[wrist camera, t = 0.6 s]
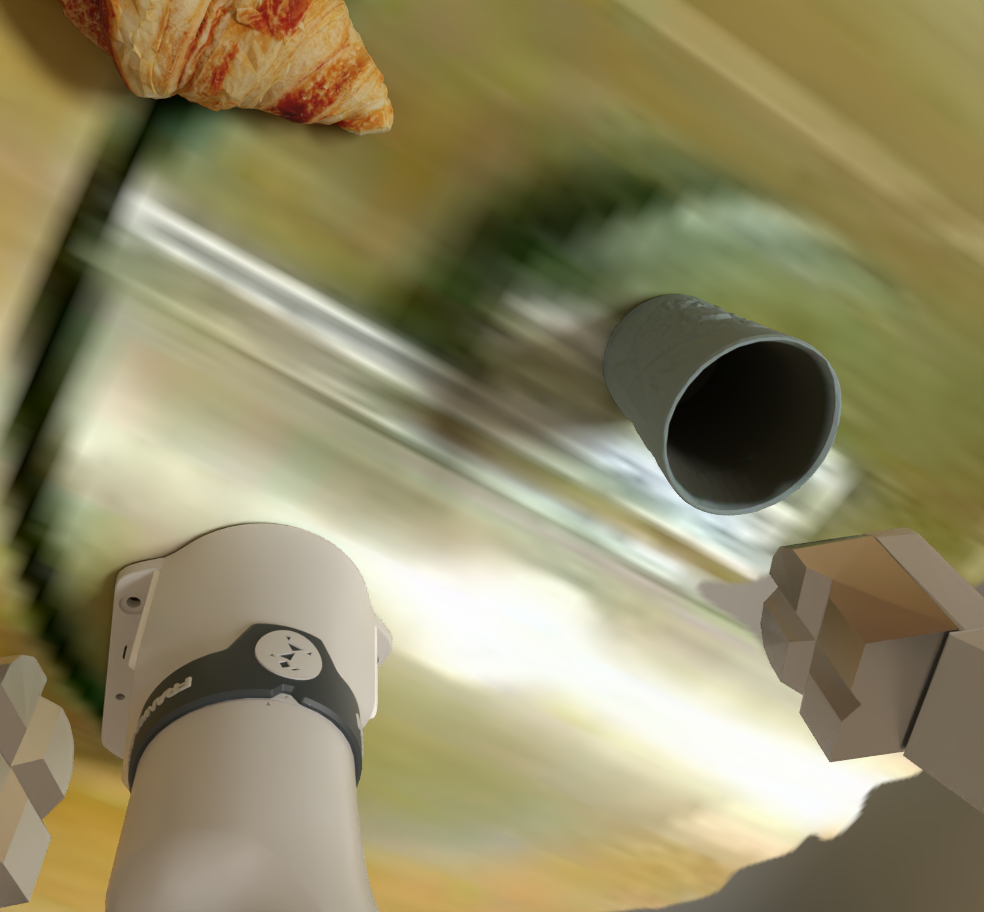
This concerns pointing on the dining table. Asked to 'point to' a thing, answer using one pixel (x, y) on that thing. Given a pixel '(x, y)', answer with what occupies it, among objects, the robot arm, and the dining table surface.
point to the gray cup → (722, 402)
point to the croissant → (243, 56)
